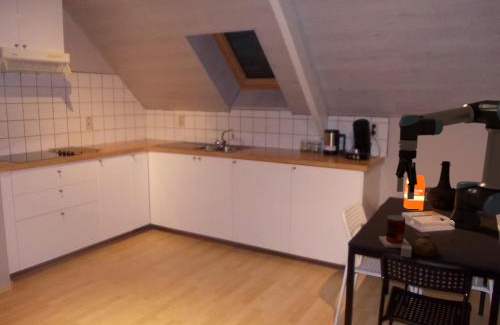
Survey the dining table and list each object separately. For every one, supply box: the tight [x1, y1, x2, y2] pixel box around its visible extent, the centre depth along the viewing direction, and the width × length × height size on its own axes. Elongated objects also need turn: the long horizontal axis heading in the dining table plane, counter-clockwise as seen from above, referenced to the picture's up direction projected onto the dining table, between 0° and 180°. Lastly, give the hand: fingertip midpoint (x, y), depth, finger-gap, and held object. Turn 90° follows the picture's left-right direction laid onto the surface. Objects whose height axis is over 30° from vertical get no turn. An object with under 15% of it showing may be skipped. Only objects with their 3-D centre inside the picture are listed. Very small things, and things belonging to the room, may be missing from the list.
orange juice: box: [403, 174, 426, 211], centre depth 252 cm, size 8×9×20 cm
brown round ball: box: [413, 231, 432, 243], centre depth 193 cm, size 5×5×5 cm
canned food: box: [385, 214, 406, 243], centre depth 194 cm, size 8×8×11 cm
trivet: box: [378, 235, 412, 249], centre depth 195 cm, size 11×11×1 cm
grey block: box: [400, 245, 413, 259], centre depth 180 cm, size 4×4×4 cm
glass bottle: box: [426, 160, 456, 210], centre depth 255 cm, size 18×18×28 cm
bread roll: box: [411, 238, 438, 258], centre depth 184 cm, size 10×10×8 cm
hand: (404, 195), depth 196 cm, fingers open, 13 cm apart
